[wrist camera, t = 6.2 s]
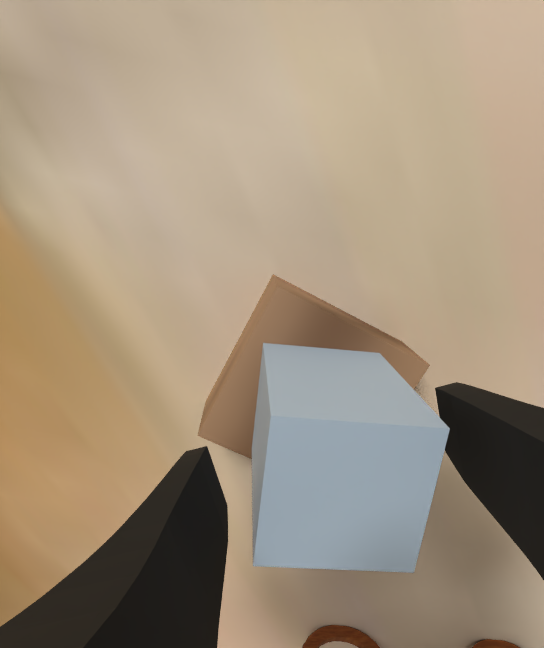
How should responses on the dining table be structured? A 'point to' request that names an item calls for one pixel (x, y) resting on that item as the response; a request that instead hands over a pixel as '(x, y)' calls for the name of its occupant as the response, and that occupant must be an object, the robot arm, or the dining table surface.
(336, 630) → the glasses
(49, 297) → the dining table surface
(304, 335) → the walnut slab
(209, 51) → the dining table surface
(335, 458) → the slate cube
